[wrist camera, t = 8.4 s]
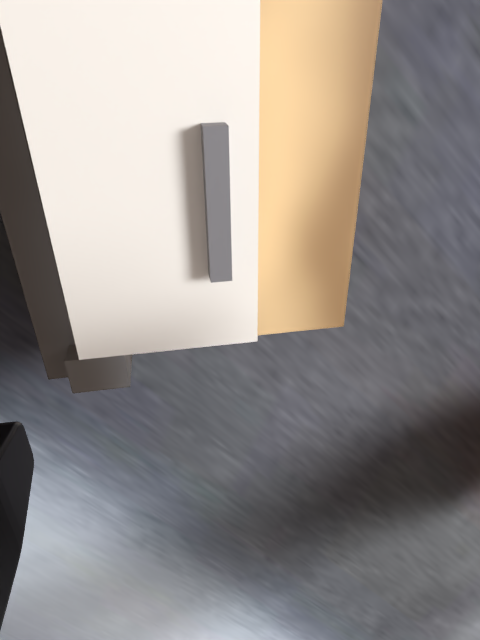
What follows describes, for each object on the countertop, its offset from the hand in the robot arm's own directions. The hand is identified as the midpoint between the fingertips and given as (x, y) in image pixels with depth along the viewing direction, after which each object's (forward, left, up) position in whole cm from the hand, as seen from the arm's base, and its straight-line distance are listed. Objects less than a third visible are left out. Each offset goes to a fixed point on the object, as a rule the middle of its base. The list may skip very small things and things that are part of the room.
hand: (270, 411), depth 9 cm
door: (+2, -2, -10) cm, 10 cm away
